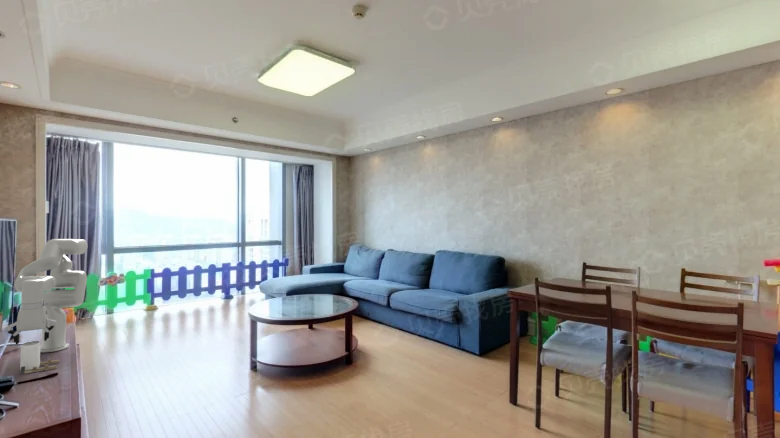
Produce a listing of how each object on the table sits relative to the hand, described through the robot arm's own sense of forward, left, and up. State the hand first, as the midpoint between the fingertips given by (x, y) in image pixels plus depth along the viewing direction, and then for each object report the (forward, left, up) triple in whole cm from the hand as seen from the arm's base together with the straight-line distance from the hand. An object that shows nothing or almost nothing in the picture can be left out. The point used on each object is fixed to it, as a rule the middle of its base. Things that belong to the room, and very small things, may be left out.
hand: (31, 341), depth 171 cm
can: (+1, 0, -13) cm, 13 cm away
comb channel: (+1, +4, -13) cm, 13 cm away
